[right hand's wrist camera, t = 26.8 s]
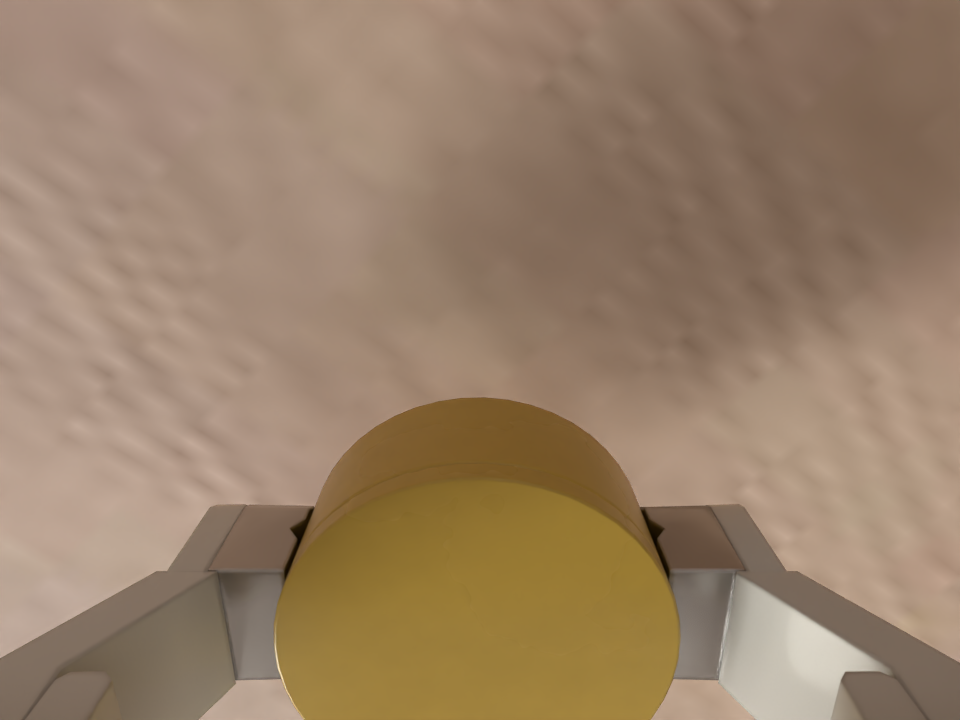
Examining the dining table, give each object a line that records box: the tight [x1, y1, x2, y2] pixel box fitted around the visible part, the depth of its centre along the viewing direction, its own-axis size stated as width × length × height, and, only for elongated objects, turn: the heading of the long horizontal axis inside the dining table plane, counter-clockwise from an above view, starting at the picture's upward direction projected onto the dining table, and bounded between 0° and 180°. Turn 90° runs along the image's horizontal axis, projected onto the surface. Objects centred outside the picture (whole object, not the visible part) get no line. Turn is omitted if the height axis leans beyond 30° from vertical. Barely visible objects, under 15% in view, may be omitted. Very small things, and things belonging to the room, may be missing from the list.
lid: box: [274, 398, 681, 720], centre depth 9 cm, size 5×5×2 cm
